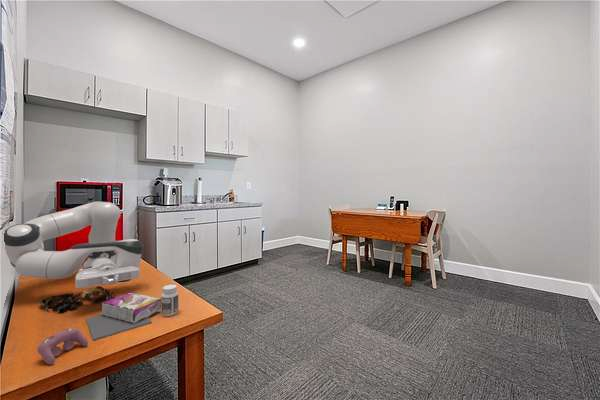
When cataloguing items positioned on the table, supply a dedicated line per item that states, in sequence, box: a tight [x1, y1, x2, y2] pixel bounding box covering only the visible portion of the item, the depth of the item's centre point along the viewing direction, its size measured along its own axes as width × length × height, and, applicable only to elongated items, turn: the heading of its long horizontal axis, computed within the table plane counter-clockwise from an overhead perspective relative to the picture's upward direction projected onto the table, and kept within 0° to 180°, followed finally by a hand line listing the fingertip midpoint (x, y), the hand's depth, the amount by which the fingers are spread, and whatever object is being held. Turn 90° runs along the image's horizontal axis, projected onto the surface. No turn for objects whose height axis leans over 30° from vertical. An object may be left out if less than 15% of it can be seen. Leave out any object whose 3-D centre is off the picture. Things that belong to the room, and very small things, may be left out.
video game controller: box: [37, 328, 89, 366], centre depth 73 cm, size 10×5×7 cm, turn 165°
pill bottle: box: [160, 284, 179, 317], centre depth 98 cm, size 6×6×10 cm
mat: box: [85, 313, 153, 341], centre depth 91 cm, size 18×16×1 cm
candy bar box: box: [101, 292, 161, 324], centre depth 97 cm, size 11×5×16 cm
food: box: [39, 285, 115, 314], centre depth 108 cm, size 22×19×4 cm
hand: (112, 281), depth 97 cm, fingers closed
